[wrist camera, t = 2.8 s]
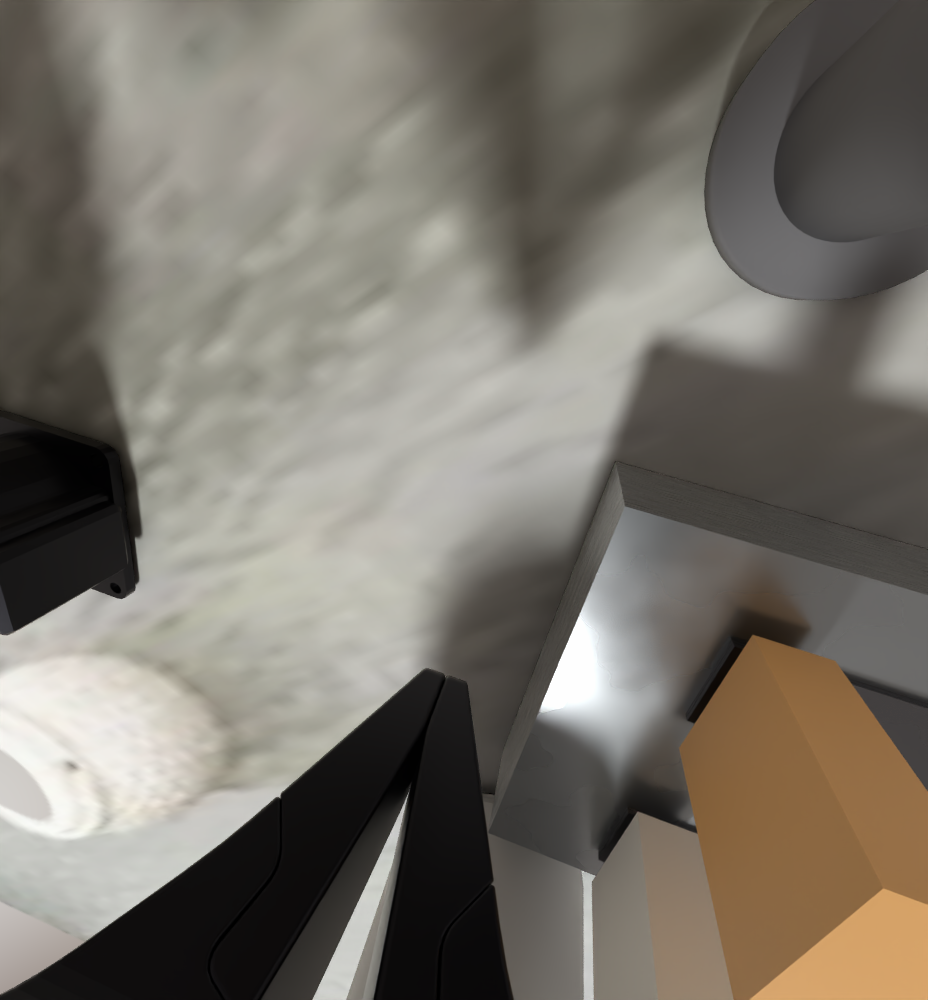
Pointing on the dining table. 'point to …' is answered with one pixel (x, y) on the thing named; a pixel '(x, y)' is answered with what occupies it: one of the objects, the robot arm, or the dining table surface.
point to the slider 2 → (809, 834)
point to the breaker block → (694, 651)
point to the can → (524, 922)
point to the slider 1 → (656, 919)
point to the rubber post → (828, 155)
